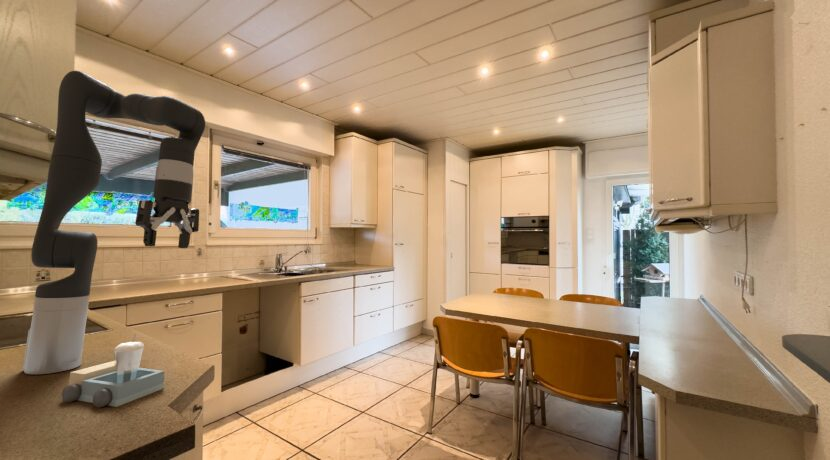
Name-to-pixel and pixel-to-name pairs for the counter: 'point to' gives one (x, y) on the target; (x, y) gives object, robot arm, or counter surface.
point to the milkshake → (127, 360)
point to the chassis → (110, 385)
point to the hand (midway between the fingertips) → (167, 247)
